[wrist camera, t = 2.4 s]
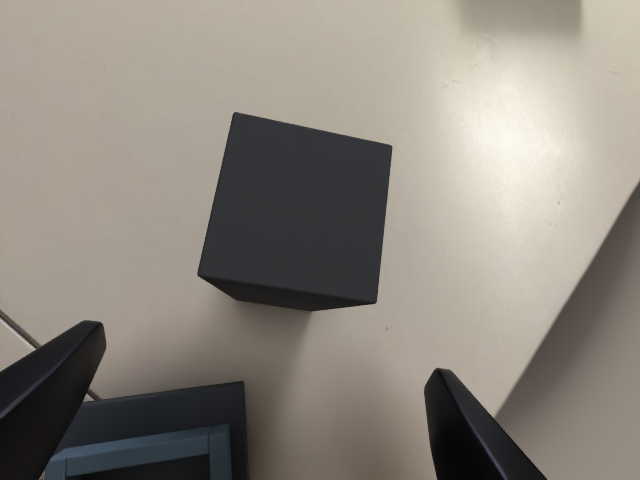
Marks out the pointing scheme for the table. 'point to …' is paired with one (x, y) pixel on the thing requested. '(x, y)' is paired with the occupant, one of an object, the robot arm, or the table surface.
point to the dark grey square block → (297, 216)
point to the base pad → (157, 437)
